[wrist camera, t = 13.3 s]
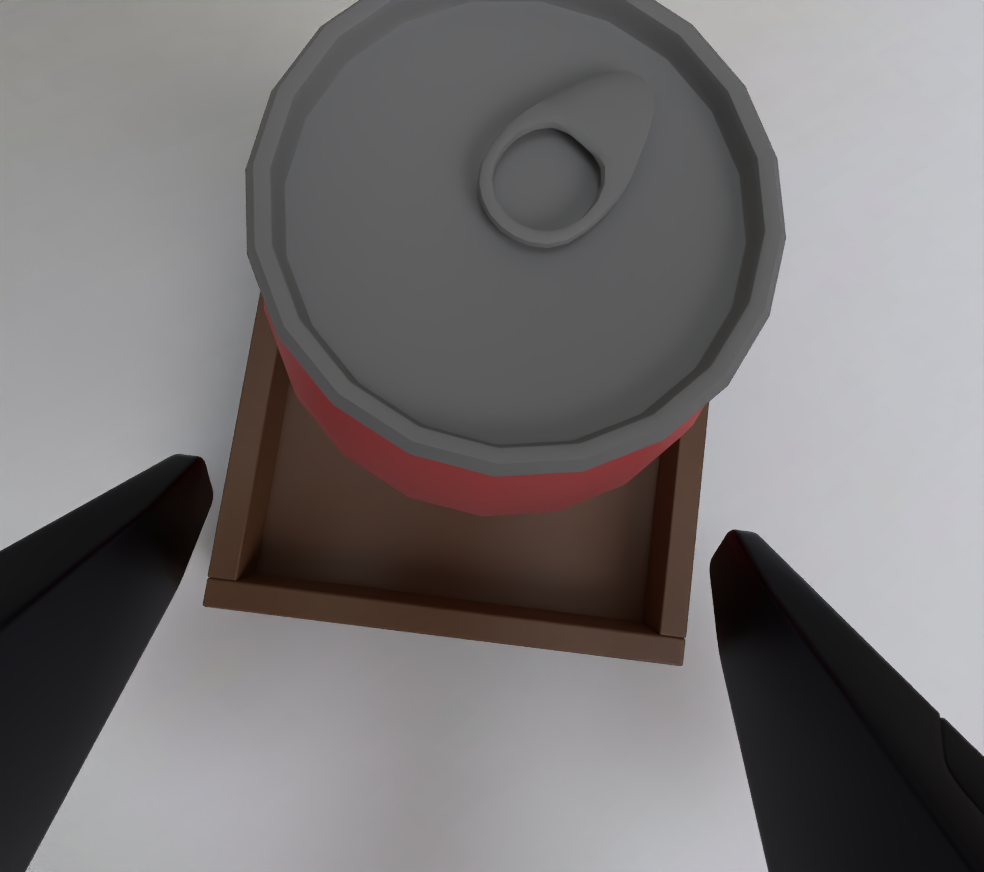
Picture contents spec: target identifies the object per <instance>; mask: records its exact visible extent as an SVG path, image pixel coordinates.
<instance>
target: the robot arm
mask: <svg viewBox="0 0 984 872" xmlns="http://www.w3.org/2000/svg"><path fill="white" fill-rule="evenodd" d="M212 500H213V490H212V486H211V482H210V478H209V475H208V471H207V467H206V464H205V461H204V460H203V459H202V458H201V457H199V456H192V455H184V454H175V455H172V456H170V457H168V458H167V459H165V460H163V461H161V462H159V463H158V464H156V465H154V466H152V467H150V468H149V469H147V470H145V471H143V472H141V473H140V474H138V475H136V476H134V477H132V478H131V479H129V480H127V481H125V482H123V483H122V484H120V485H118V486H116V487H115V488H113V489H111V490H109V491H107V492H106V493H104V494H102V495H100V496H98V497H97V498H95V499H93V500H91V501H89V502H88V503H86V504H84V505H82V506H80V507H79V508H77V509H75V510H73V511H71V512H70V513H68V514H66V515H64V516H62V517H61V518H59V519H57V520H55V521H53V522H52V523H50V524H48V525H46V526H44V527H43V528H41V529H39V530H37V531H35V532H34V533H32V534H30V535H28V536H26V537H25V538H23V539H21V540H19V541H17V542H16V543H14V544H12V545H10V546H8V547H7V548H5V549H3V550H1V551H0V872H25V871H26V869H27V868H28V866H29V864H30V862H31V860H32V858H33V856H34V855H35V853H36V851H37V849H38V847H39V845H40V843H41V842H42V840H43V838H44V836H45V834H46V832H47V830H48V829H49V827H50V825H51V823H52V821H53V819H54V817H55V816H56V814H57V812H58V810H59V808H60V806H61V804H62V803H63V801H64V799H65V797H66V795H67V793H68V791H69V790H70V788H71V786H72V784H73V782H74V780H75V778H76V777H77V775H78V773H79V771H80V769H81V767H82V765H83V764H84V762H85V760H86V758H87V756H88V754H89V752H90V751H91V749H92V747H93V745H94V743H95V741H96V739H97V738H98V736H99V734H100V732H101V730H102V728H103V726H104V725H105V723H106V721H107V719H108V717H109V715H110V713H111V711H112V710H113V708H114V706H115V704H116V702H117V700H118V698H119V697H120V695H121V693H122V691H123V689H124V687H125V685H126V684H127V682H128V680H129V678H130V676H131V674H132V672H133V671H134V669H135V667H136V665H137V663H138V661H139V659H140V658H141V656H142V654H143V652H144V650H145V648H146V646H147V645H148V643H149V641H150V639H151V637H152V635H153V633H154V632H155V630H156V628H157V626H158V624H159V622H160V620H161V619H162V617H163V615H164V613H165V611H166V609H167V607H168V606H169V604H170V602H171V600H172V598H173V596H174V594H175V592H176V590H177V588H178V586H179V584H180V582H181V579H182V577H183V575H184V573H185V570H186V568H187V565H188V562H189V560H190V557H191V555H192V552H193V550H194V547H195V545H196V542H197V540H198V537H199V535H200V532H201V530H202V527H203V525H204V522H205V520H206V517H207V515H208V512H209V510H210V507H211V504H212ZM710 579H711V588H712V597H713V606H714V615H715V624H716V633H717V641H718V648H719V654H720V659H721V664H722V669H723V673H724V678H725V682H726V687H727V691H728V695H729V700H730V704H731V709H732V713H733V717H734V722H735V726H736V731H737V735H738V740H739V744H740V748H741V753H742V757H743V762H744V766H745V770H746V775H747V779H748V784H749V788H750V792H751V797H752V801H753V806H754V810H755V814H756V819H757V823H758V828H759V832H760V836H761V841H762V845H763V850H764V854H765V858H766V863H767V867H768V872H984V756H983V755H982V754H981V753H980V752H979V751H978V750H977V749H975V748H974V747H973V746H972V745H971V744H970V743H969V742H968V741H967V740H966V739H965V738H964V737H963V736H962V735H961V734H960V733H959V732H958V731H957V730H956V729H955V728H954V727H953V726H952V725H951V724H950V723H949V722H948V721H947V720H946V719H945V718H940V714H939V713H938V711H937V710H936V709H934V708H933V707H932V706H931V705H930V704H929V703H928V702H927V701H926V700H925V699H924V698H923V697H922V696H921V695H920V694H919V693H918V692H917V691H916V690H915V689H914V688H913V687H912V686H911V685H910V684H909V683H908V682H907V681H906V680H905V679H904V678H903V677H902V676H901V675H900V674H899V673H898V672H897V671H896V670H895V669H894V668H893V667H892V666H891V665H890V664H889V663H888V662H887V661H886V660H885V659H884V658H883V657H882V656H881V655H880V654H879V653H878V652H877V651H876V650H875V649H874V648H873V647H872V646H871V645H870V644H869V643H868V642H866V641H865V640H864V639H863V638H862V637H861V636H860V635H859V634H858V633H857V632H856V631H855V630H854V629H853V628H852V627H851V626H850V625H849V624H848V623H847V622H846V621H845V620H844V619H843V618H842V617H841V616H840V615H839V614H838V613H837V612H836V611H835V610H834V609H833V608H832V607H831V606H830V605H829V604H828V603H827V602H826V601H825V600H824V599H823V598H822V597H821V596H820V595H819V594H818V593H817V592H816V591H815V590H814V589H813V588H812V587H811V586H810V585H809V584H808V583H807V582H806V581H805V580H804V579H803V578H802V577H801V576H800V575H798V574H797V573H796V572H795V571H794V570H793V569H792V568H791V567H790V566H789V565H788V564H787V563H786V562H785V561H784V560H783V559H782V558H781V557H780V556H779V555H778V554H777V553H776V552H775V551H774V550H773V549H772V548H771V547H770V546H769V545H768V544H767V543H766V542H765V541H764V540H763V539H762V538H761V537H760V536H759V535H757V534H756V533H754V532H749V531H741V530H731V531H730V532H728V533H727V535H726V536H725V538H724V539H723V541H722V542H721V544H720V546H719V547H718V549H717V550H716V552H715V554H714V555H713V557H712V559H711V562H710Z"/></svg>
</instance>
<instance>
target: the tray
mask: <svg viewBox="0 0 984 872" xmlns="http://www.w3.org/2000/svg"><path fill="white" fill-rule="evenodd" d="M708 407H709V402H708V403H707V404H706V405H705V406H704V407H703V409H702V411H701V412H700V414H699V416H698V417H697V419H696V421H695V422H694V424H693V426H691V427H690V428H689V429H688V430H687V431H686V432H685V433H684V434H683V435H682V436H681V437H680V438H679V439H678V440H677V441H675V442H674V443H673V444H672V445H671V446H670V447H668V448H667V449H666V450H665V451H664V452H662V453H661V454H660V455H659V456H658V457H657V458H655V459H654V460H653V461H652V462H651V463H650V464H648V465H647V466H646V467H645V468H644V469H643V470H641V471H640V472H639V473H638V474H637V475H635V476H634V477H633V478H632V479H631V480H630V481H628V482H627V483H626V484H625V485H622V486H620V487H618V488H615V489H613V490H610V491H608V492H605V493H603V494H600V495H598V496H595V497H593V498H590V499H588V500H585V501H583V502H580V503H578V504H575V505H573V506H570V507H568V508H565V509H563V510H560V511H558V512H548V513H532V514H516V515H500V516H484V517H481V516H477V515H474V514H470V513H466V512H462V511H458V510H454V509H451V508H447V507H443V506H439V505H435V504H431V503H428V502H424V501H420V500H416V499H412V498H408V497H407V496H405V495H404V494H402V493H400V492H399V491H397V490H396V489H394V488H393V487H391V486H390V485H388V484H387V483H385V482H383V481H382V480H380V479H379V478H377V477H376V476H374V475H373V474H371V473H369V472H368V471H366V470H365V469H363V468H362V467H360V466H359V465H357V464H356V463H354V462H352V461H351V460H349V459H348V458H346V457H345V456H344V455H343V454H342V453H341V452H340V450H339V449H338V448H337V447H336V445H335V444H334V443H333V442H332V440H331V439H330V438H329V437H328V436H327V434H326V433H325V432H324V431H323V429H322V428H321V427H320V426H319V424H318V423H317V422H316V421H315V419H314V418H313V417H312V416H311V414H310V413H309V412H308V411H307V409H306V408H305V407H304V406H303V404H302V403H301V402H300V401H299V399H298V398H297V397H296V394H295V392H294V389H293V387H292V384H291V381H290V379H289V376H288V373H287V371H286V368H285V365H284V362H283V360H282V357H281V354H280V352H279V349H278V346H277V343H276V341H275V338H274V335H273V332H272V330H271V327H270V324H269V322H268V319H267V316H266V313H265V311H264V299H263V296H262V294H261V291H260V297H259V302H258V307H257V313H256V318H255V324H254V329H253V334H252V340H251V345H250V351H249V356H248V361H247V367H246V372H245V378H244V383H243V388H242V394H241V399H240V404H239V410H238V415H237V421H236V426H235V431H234V437H233V442H232V448H231V453H230V458H229V464H228V469H227V475H226V480H225V485H224V491H223V496H222V502H221V507H220V512H219V518H218V523H217V529H216V534H215V539H214V545H213V550H212V556H211V561H210V566H209V572H208V577H210V578H208V580H207V584H206V590H205V595H204V601H203V606H205V607H212V608H220V609H228V610H236V611H244V612H252V613H260V614H268V615H276V616H284V617H292V618H300V619H308V620H316V621H324V622H332V623H340V624H348V625H356V626H364V627H372V628H380V629H388V630H396V631H404V632H412V633H420V634H428V635H436V636H444V637H452V638H460V639H468V640H476V641H484V642H492V643H500V644H508V645H516V646H524V647H532V648H540V649H548V650H556V651H564V652H572V653H580V654H588V655H596V656H604V657H612V658H620V659H628V660H636V661H644V662H652V663H660V664H668V665H676V666H682V665H683V658H684V648H685V639H684V638H685V637H686V632H687V621H688V611H689V601H690V591H691V581H692V570H693V560H694V550H695V540H696V529H697V519H698V509H699V499H700V489H701V478H702V468H703V458H704V448H705V438H706V427H707V417H708Z"/></svg>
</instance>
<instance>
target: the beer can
mask: <svg viewBox="0 0 984 872" xmlns="http://www.w3.org/2000/svg"><path fill="white" fill-rule="evenodd" d="M245 172H246V226H247V255H248V258H249V261H250V264H251V266H252V269H253V272H254V274H255V277H256V280H257V283H258V285H259V288H260V291H261V294H262V296H263V299H264V311H265V313H266V316H267V319H268V322H269V324H270V327H271V330H272V332H273V335H274V338H275V341H276V343H277V346H278V349H279V352H280V354H281V357H282V360H283V362H284V365H285V368H286V371H287V373H288V376H289V379H290V381H291V384H292V387H293V389H294V392H295V394H296V397H297V398H298V399H299V401H300V402H301V403H302V404H303V406H304V407H305V408H306V409H307V411H308V412H309V413H310V414H311V416H312V417H313V418H314V419H315V421H316V422H317V423H318V424H319V426H320V427H321V428H322V429H323V431H324V432H325V433H326V434H327V436H328V437H329V438H330V439H331V440H332V442H333V443H334V444H335V445H336V447H337V448H338V449H339V450H340V452H341V453H342V454H343V455H344V456H345V457H346V458H348V459H349V460H351V461H352V462H354V463H356V464H357V465H359V466H360V467H362V468H363V469H365V470H366V471H368V472H369V473H371V474H373V475H374V476H376V477H377V478H379V479H380V480H382V481H383V482H385V483H387V484H388V485H390V486H391V487H393V488H394V489H396V490H397V491H399V492H400V493H402V494H404V495H405V496H407V497H408V498H412V499H416V500H420V501H424V502H428V503H431V504H435V505H439V506H443V507H447V508H451V509H454V510H458V511H462V512H466V513H470V514H474V515H477V516H481V517H484V516H500V515H516V514H532V513H548V512H558V511H560V510H563V509H565V508H568V507H570V506H573V505H575V504H578V503H580V502H583V501H585V500H588V499H590V498H593V497H595V496H598V495H600V494H603V493H605V492H608V491H610V490H613V489H615V488H618V487H620V486H622V485H625V484H626V483H627V482H628V481H630V480H631V479H632V478H633V477H634V476H635V475H637V474H638V473H639V472H640V471H641V470H643V469H644V468H645V467H646V466H647V465H648V464H650V463H651V462H652V461H653V460H654V459H655V458H657V457H658V456H659V455H660V454H661V453H662V452H664V451H665V450H666V449H667V448H668V447H670V446H671V445H672V444H673V443H674V442H675V441H677V440H678V439H679V438H680V437H681V436H682V435H683V434H684V433H685V432H686V431H687V430H688V429H689V428H690V427H691V426H693V424H694V422H695V421H696V419H697V417H698V416H699V414H700V412H701V411H702V409H703V407H704V406H705V405H706V404H707V403H708V402H709V401H710V400H712V399H713V398H714V397H715V396H716V395H717V394H719V393H720V392H721V391H722V390H723V389H724V388H726V387H727V386H728V384H729V383H730V381H731V379H732V378H733V376H734V374H735V373H736V371H737V369H738V368H739V366H740V364H741V363H742V361H743V359H744V358H745V356H746V354H747V353H748V351H749V349H750V348H751V346H752V344H753V343H754V341H755V339H756V337H757V336H758V334H759V332H760V331H761V329H762V327H763V326H764V324H765V322H766V321H767V319H768V317H769V315H770V311H771V306H772V301H773V296H774V292H775V287H776V282H777V278H778V273H779V268H780V264H781V259H782V254H783V249H784V245H785V240H786V233H785V224H784V215H783V206H782V197H781V188H780V179H779V170H778V161H777V157H776V155H775V152H774V150H773V148H772V146H771V143H770V141H769V139H768V137H767V134H766V132H765V130H764V128H763V125H762V123H761V121H760V119H759V116H758V114H757V112H756V110H755V107H754V105H753V103H752V100H751V98H750V96H749V94H748V91H747V89H746V87H745V85H744V84H743V83H742V82H741V81H740V79H739V78H738V77H737V76H736V75H735V74H734V72H733V71H732V70H731V69H730V68H729V67H728V66H727V64H726V63H725V62H724V61H723V60H722V59H721V57H720V56H719V55H718V54H717V53H716V52H715V50H714V49H713V48H712V47H711V46H710V45H709V44H708V42H707V41H706V40H705V39H704V38H703V37H702V35H701V34H700V33H699V32H698V31H697V30H696V28H695V27H694V26H693V25H692V24H691V23H689V22H687V21H686V20H684V19H683V18H681V17H680V16H678V15H677V14H675V13H674V12H672V11H670V10H669V9H667V8H666V7H664V6H663V5H661V4H660V3H658V2H656V1H655V0H359V1H357V2H356V3H355V4H353V5H352V6H350V7H349V8H347V9H346V10H344V11H343V12H341V13H340V14H338V15H337V16H335V17H334V18H333V19H331V20H330V21H328V22H327V23H325V24H324V25H322V26H321V27H320V28H319V29H318V31H317V32H316V33H315V35H314V36H313V37H312V39H311V40H310V41H309V43H308V44H307V45H306V46H305V48H304V49H303V50H302V52H301V53H300V54H299V56H298V57H297V58H296V60H295V61H294V62H293V64H292V65H291V66H290V67H289V69H288V70H287V71H286V73H285V74H284V75H283V77H282V78H281V79H280V81H279V82H278V83H277V85H276V86H275V87H274V89H273V90H272V91H271V94H270V97H269V100H268V103H267V106H266V109H265V112H264V115H263V118H262V121H261V124H260V127H259V130H258V133H257V136H256V139H255V142H254V145H253V148H252V151H251V154H250V158H249V161H248V164H247V167H246V170H245Z"/></svg>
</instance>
